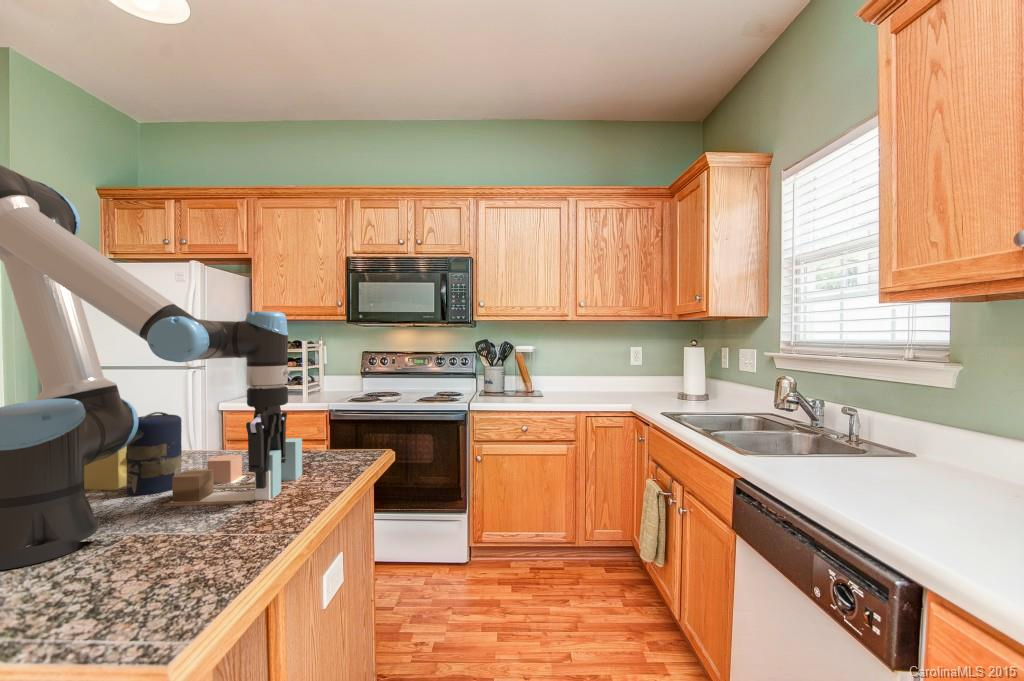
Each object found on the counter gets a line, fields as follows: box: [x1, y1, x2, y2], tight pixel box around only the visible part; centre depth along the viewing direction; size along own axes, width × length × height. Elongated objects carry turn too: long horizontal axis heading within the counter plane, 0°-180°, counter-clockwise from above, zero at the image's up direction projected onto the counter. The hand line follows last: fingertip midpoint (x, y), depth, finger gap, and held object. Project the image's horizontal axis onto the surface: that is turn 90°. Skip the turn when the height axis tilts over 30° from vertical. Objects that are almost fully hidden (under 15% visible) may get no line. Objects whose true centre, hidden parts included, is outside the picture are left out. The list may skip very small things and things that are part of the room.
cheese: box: [84, 445, 127, 491], centre depth 108 cm, size 10×11×10 cm
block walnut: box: [172, 468, 214, 502], centre depth 94 cm, size 5×5×5 cm
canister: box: [126, 411, 183, 497], centre depth 100 cm, size 10×10×18 cm
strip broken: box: [213, 437, 303, 485], centre depth 106 cm, size 6×20×10 cm, turn 94°
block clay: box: [206, 454, 243, 484], centre depth 106 cm, size 5×5×5 cm
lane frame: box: [162, 472, 255, 507], centre depth 100 cm, size 21×14×2 cm, turn 4°
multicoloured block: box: [168, 450, 282, 503], centre depth 94 cm, size 6×20×10 cm, turn 94°
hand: (268, 498), depth 95 cm, fingers closed on multicoloured block, 4 cm apart
